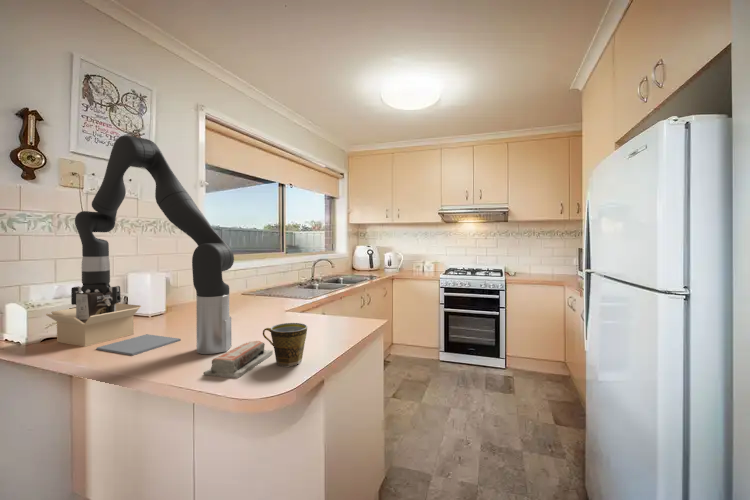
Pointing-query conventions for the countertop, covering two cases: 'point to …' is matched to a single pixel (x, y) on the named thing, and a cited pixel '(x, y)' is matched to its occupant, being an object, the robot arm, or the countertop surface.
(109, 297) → the robot arm
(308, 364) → the countertop surface
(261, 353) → the packaged product
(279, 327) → the ceramic cup
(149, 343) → the mat
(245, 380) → the countertop surface
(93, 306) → the coffee box
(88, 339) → the carton
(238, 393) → the countertop surface
